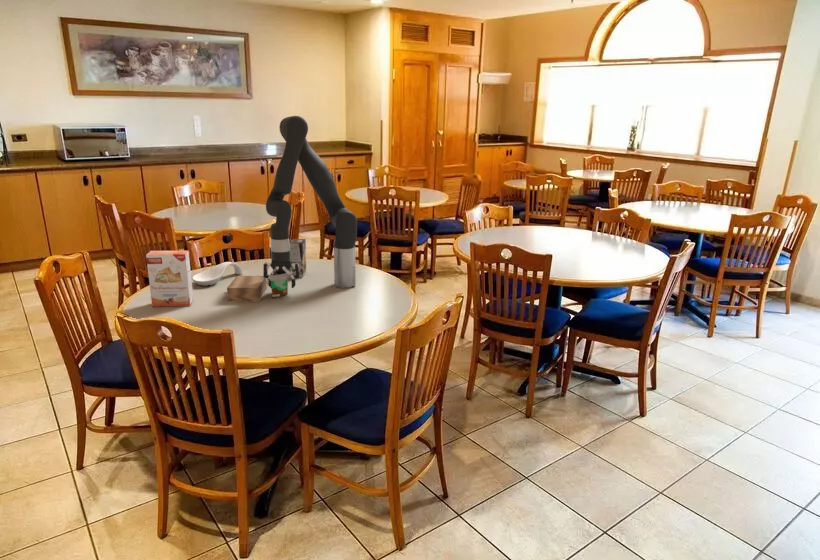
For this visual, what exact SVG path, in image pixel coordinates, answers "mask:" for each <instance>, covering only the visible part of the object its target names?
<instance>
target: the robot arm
mask: <svg viewBox="0 0 820 560" xmlns="http://www.w3.org/2000/svg"><path fill="white" fill-rule="evenodd" d="M278 128H279V133H280V134H281V137H282V138H283V140H284V142H285V146H284V150H283V154H282V156H281V159H280V160H279V163H278V166H277V168H276V173H275V176H274V181H273V182H274V183H273V187H272V189H271V190H270V193H269V195H268V197H267V199H266V203H265V211H266V213H267V214H268V215H269V216H271V217H274V218H275V222H273V223H272V224H271V225H270V256H271V257H270V258H271V262H267V261H265V262H264V263H263V274H262V276H263V277H264V278H266V280H268V286H269V287H270V289H271V281H270V275H274V274H275V273H277V274H285V273H287V274H288V275H289V276H290V277H289V278H291V279H290V280H291V281H290V282H291V288H292V289H294V288H295V287H296V284H297V283H296V279H299V276H300V272H299V263H298V262H296V263H291V259H290V241H291V240H290V231H289V230H290V229H289V228H290V227H289V226H290V224H291V223H290V222H291V220H292V219H291V218H292V214H293V213H292V205H291V203H289V201H287V200H284V198H285V196H286V195H290V194H291V193H292V189H293V186H294V185H293V184H294V180H295V174H296V170H297V165H298V163H299V165H300V167H301V169H302V171H303V173H304V175H305V176H306V178H307V180H308V182H309V183H310V185H311V187H312V188H313V190H314V192H315V193H316V195H317V196H318V198H319V199H320V201H321V202H322V203H323V206H324V208H325V210H326V212H327V214H328V216H329V219H330V221H331V224H332V226H333V227H334V228H335V239H334V240H333V270H334V271H333V275H334V276H333V278H334V280H333V281H334V286H335V287H336V286H337V287H336V288H340V287H349V288H353V287H352V286H355V287H356V286H357V285H356V284H357V283H356V279H357V277H356V276H357V274H356V271H357V269H356V268H357V265H356V243H357V239H358V219H357V216H356V215H355V213H354V212H353V211H351V210H349V209H348V208H347V206H346V205H345V204H344V202H343V201H342V198H340V196H339V193H338V189H337V187H336V181H335V180H334V177H333V175H332V173H331V171H330V169H329V168H328V166H327V164H326V163H325V162H324V160H323V159H322V158H321V157H320V156H319V154H318V153H317V152H316V151H315V150H314V149H313V148H312V147H311V145H310V144H309V142H308V139H307V138H306V137H307V134H308V132H309V125H308V122H307V121H306V119H305V118H304V117H302V116H300V115H291V116H287V117H284V118H283V119H282V120H280V123H279V127H278ZM292 266H293V268H294V269H295V270H296V275H294V274H293V272H292V271H291V269H290V268H291V267H292ZM270 267H271V270H272V271H271V272H270V274H268V273H269V272H268V269H269V268H270Z"/></svg>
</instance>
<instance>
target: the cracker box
mask: <svg viewBox="0 0 820 560" xmlns="http://www.w3.org/2000/svg"><path fill="white" fill-rule="evenodd" d="M145 257H146V259H145V260H146V265H147V274H148V283H149V289H150V290H149V292H150V300H151V307H155V308H156V307H186V306H185V305H190V306H191V305H192V304H191V303H193V302H194V295H193V292H194V291H193V280H192V273H191V262H190V251H189V250H149V252H147V254H146V255H145Z"/></svg>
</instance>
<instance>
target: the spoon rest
mask: <svg viewBox="0 0 820 560" xmlns="http://www.w3.org/2000/svg"><path fill="white" fill-rule="evenodd" d="M228 266H233V269H234V274H236V275H237V276H244V275H243V270H242V268H241V266H240V265H238V264H237V263H235V262H231V261H225V262H222V263H219V264H217V265H215V266H213V267H211V268H208V269H206V270H204V271H201V272H198V273H196V274H194V275H192V276H191V280H192V282H193V283H195V284H196V285H199V286H203V287H208V285H210V286H214V285H216V284H217V283H218V282H219V281H220V280H221V277H222V276H223V274H224V272H225V271H226V268H228ZM215 283H216V284H215ZM213 284H214V285H213Z"/></svg>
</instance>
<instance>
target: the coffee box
mask: <svg viewBox="0 0 820 560" xmlns="http://www.w3.org/2000/svg"><path fill="white" fill-rule="evenodd" d="M289 241H290V259H291V263H296V262H298V263H299V272H300V276H299V278H301V279H303V278H304V276H305V275H306V274H307V272H308V270H307V250H306V249H307V248H306V247H307V246H306V238H292V239H291V240H289ZM290 269H291V271H292V272H293V274H294V275H296V270H295V269H294V268H293V266H292V267H291V268H290ZM305 273H306V274H305ZM302 277H303V278H302ZM288 278H291V277H290V276H289V277H288ZM299 278H298V279H299Z"/></svg>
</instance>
